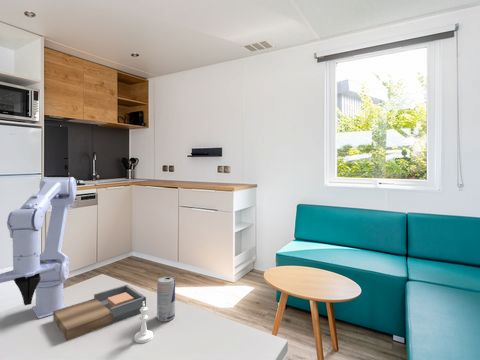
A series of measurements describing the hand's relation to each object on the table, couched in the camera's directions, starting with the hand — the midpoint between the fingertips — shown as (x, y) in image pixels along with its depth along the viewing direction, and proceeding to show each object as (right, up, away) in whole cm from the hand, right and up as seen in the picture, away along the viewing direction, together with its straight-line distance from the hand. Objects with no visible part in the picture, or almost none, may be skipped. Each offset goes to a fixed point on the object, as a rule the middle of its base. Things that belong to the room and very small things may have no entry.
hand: (27, 303), depth 76 cm
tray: (+18, -9, +16) cm, 26 cm away
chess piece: (+31, -10, +1) cm, 33 cm away
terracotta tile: (+18, -7, +16) cm, 25 cm away
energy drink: (+34, -10, +12) cm, 37 cm away
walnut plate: (+10, -9, +8) cm, 16 cm away
